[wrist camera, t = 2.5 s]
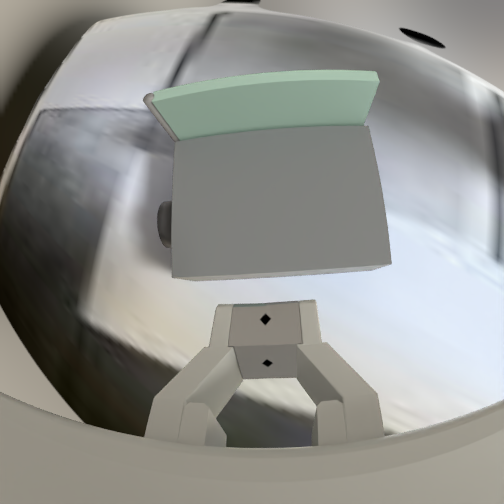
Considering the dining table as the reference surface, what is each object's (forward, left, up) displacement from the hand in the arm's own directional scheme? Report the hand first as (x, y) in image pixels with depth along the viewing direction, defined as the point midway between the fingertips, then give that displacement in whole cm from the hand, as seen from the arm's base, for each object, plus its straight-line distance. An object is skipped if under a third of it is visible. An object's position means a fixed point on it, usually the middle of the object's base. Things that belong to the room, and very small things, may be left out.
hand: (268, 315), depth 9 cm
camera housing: (-7, -7, -23) cm, 25 cm away
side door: (-12, -13, -23) cm, 30 cm away
